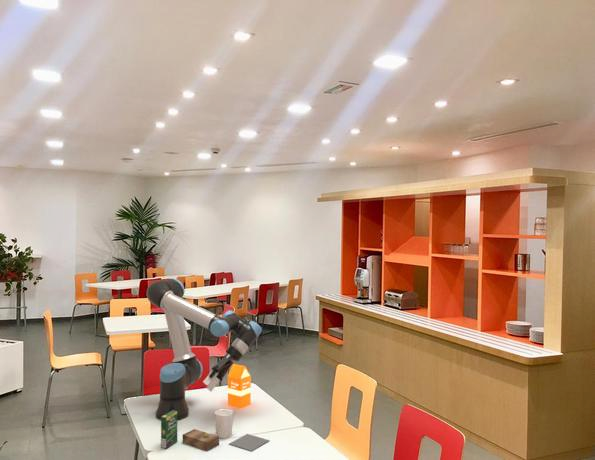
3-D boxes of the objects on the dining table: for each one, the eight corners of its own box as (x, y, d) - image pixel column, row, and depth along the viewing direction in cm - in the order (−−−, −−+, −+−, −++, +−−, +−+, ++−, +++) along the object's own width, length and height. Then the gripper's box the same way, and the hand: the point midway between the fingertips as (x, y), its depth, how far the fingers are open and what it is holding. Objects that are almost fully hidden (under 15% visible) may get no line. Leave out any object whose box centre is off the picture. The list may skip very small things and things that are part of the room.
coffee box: (166, 449, 203) (166, 417, 203) (160, 448, 204) (160, 416, 204) (177, 441, 211) (178, 410, 211) (172, 440, 212) (172, 409, 212)
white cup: (229, 439, 213) (229, 416, 213) (211, 438, 215) (212, 414, 215) (235, 432, 221) (235, 409, 221) (218, 430, 222) (218, 408, 222)
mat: (228, 444, 208) (228, 443, 208) (247, 434, 218) (247, 433, 218) (251, 451, 202) (251, 450, 202) (269, 441, 212) (269, 440, 212)
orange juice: (237, 400, 262) (238, 362, 261) (250, 404, 256) (250, 364, 256) (227, 404, 255) (227, 365, 255) (240, 408, 250) (240, 368, 250)
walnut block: (182, 443, 210) (182, 431, 210) (194, 437, 216) (194, 426, 216) (207, 451, 202) (207, 439, 202) (219, 445, 208) (219, 433, 208)
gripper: (241, 347, 227) (210, 386, 219) (244, 361, 249) (215, 396, 241) (228, 338, 229) (197, 375, 221) (232, 352, 251) (204, 387, 243)
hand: (206, 386), depth 231 cm, fingers open, 13 cm apart
